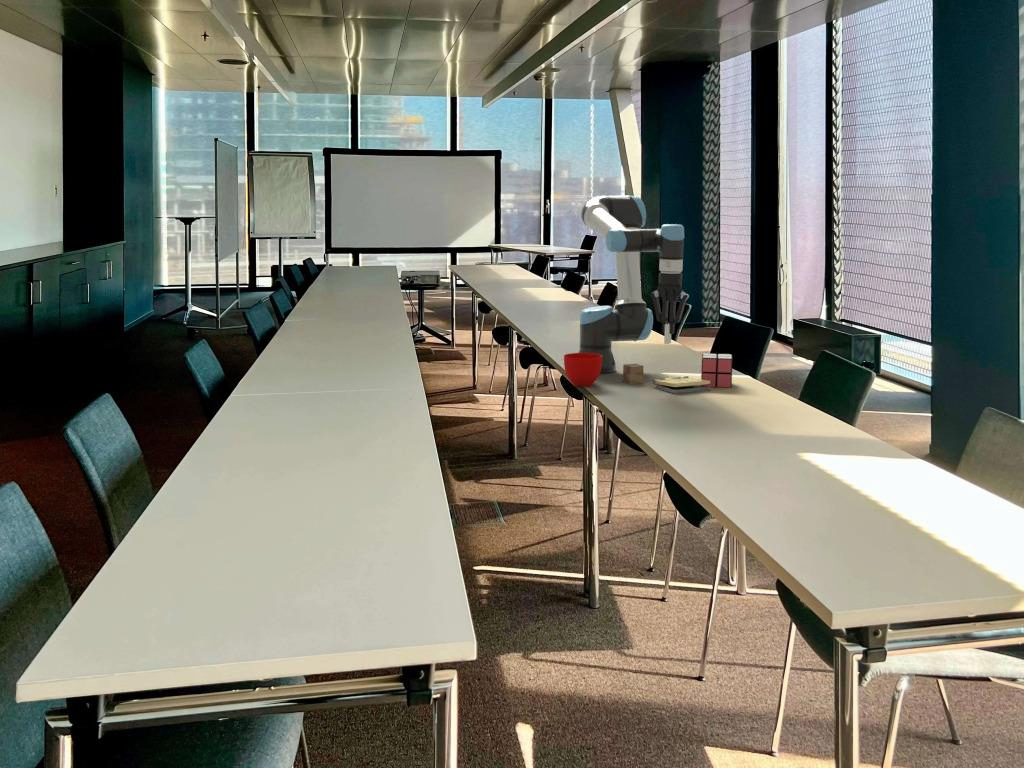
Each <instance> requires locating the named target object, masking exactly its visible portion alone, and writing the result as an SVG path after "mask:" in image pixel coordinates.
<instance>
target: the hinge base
mask: <svg viewBox="0 0 1024 768" xmlns="http://www.w3.org/2000/svg"><path fill="white" fill-rule="evenodd" d="M678 378H679V379H680V378H690V377H689V376H678ZM658 380H664V379H663V378H654V379H652V382H651V383H652V385H654V386H655V387H654V388H655V389H658V390H661V391H664V392H668V393H671V394H674V395H675V394H685V393H697V392H706V391H707V392H708V391H711V387H709V386H705V385H692V386H681V387H671V386H665V385H659V384H656V381H658Z"/></svg>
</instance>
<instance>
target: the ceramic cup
mask: <svg viewBox="0 0 1024 768" xmlns="http://www.w3.org/2000/svg"><path fill="white" fill-rule="evenodd" d="M563 364H564V372H565V375H566V377H567V379H568V380H569V382H570V383H571V384H572V386H574V387H584V388H585V387H586V388H587V387H591V386H593V385H594V384H595V382H596V381H597V380H598V379H599V376H600V375H601V373H600V372H601V367H602V355H599V354H593V353H579V352H572V353H571V352H570V353H567V354H564V355H563Z"/></svg>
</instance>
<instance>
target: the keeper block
mask: <svg viewBox="0 0 1024 768" xmlns="http://www.w3.org/2000/svg"><path fill="white" fill-rule="evenodd" d="M622 367H623V369H622V371H623V372H622V382H623V383H626V384H629V385H633V384H643V383H644V368H645V367H644V365H643V364H639V363H624V364H623V365H622Z"/></svg>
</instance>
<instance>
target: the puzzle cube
mask: <svg viewBox="0 0 1024 768" xmlns="http://www.w3.org/2000/svg"><path fill="white" fill-rule="evenodd" d="M700 379H703V380H710V384H703V385H705V386H709V387H710V388H719V389H721V388H722V389H731V388H732V384H733V355H732V354H730V353H718V354H717V353H702V354H701V376H700Z"/></svg>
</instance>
